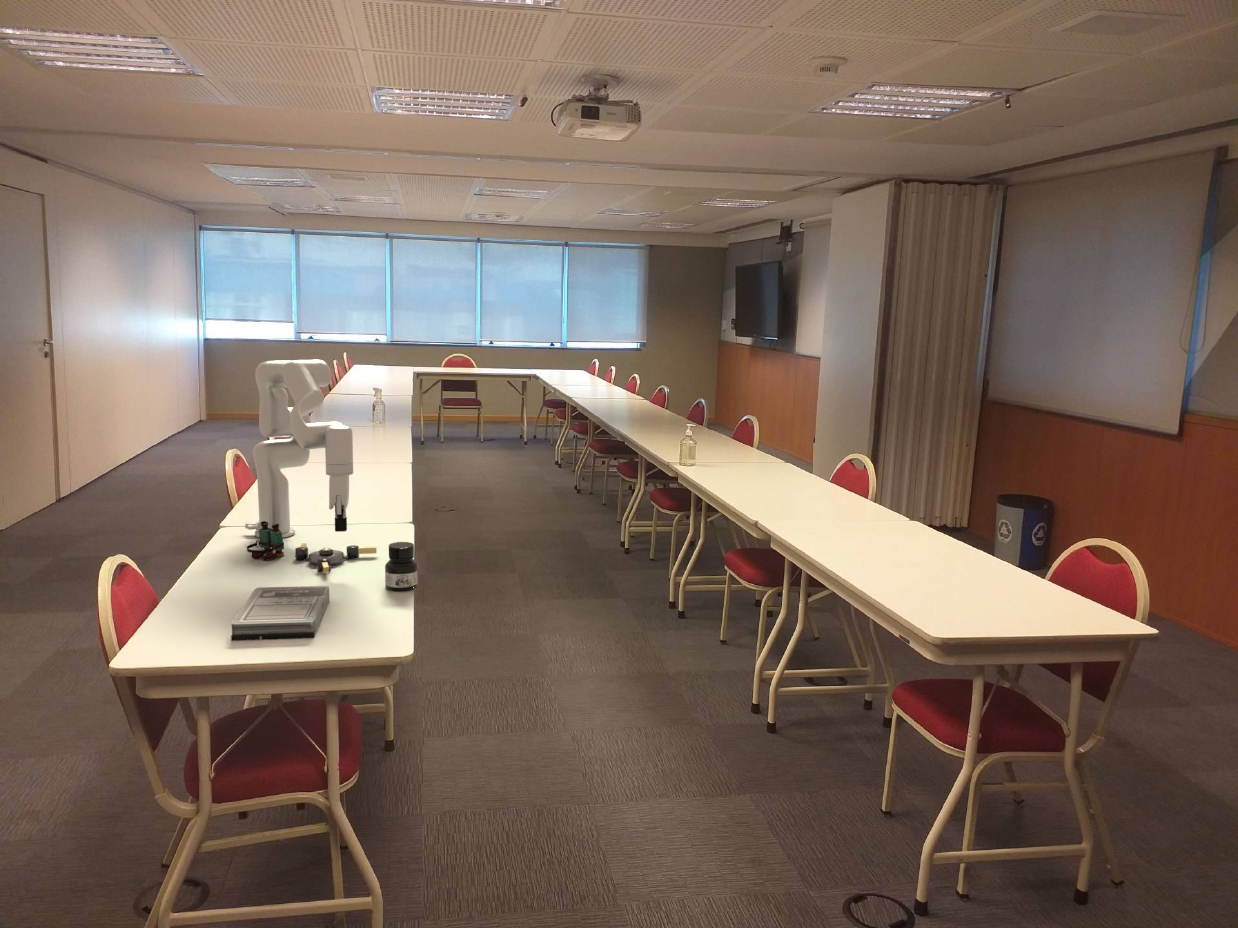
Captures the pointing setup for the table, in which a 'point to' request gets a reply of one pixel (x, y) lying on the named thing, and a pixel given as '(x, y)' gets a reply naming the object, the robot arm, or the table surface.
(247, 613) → the hard drive
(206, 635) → the table surface
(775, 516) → the table surface
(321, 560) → the knob
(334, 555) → the tribrach plate
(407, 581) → the ink bottle
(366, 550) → the knob
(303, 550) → the knob
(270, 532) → the binoculars
